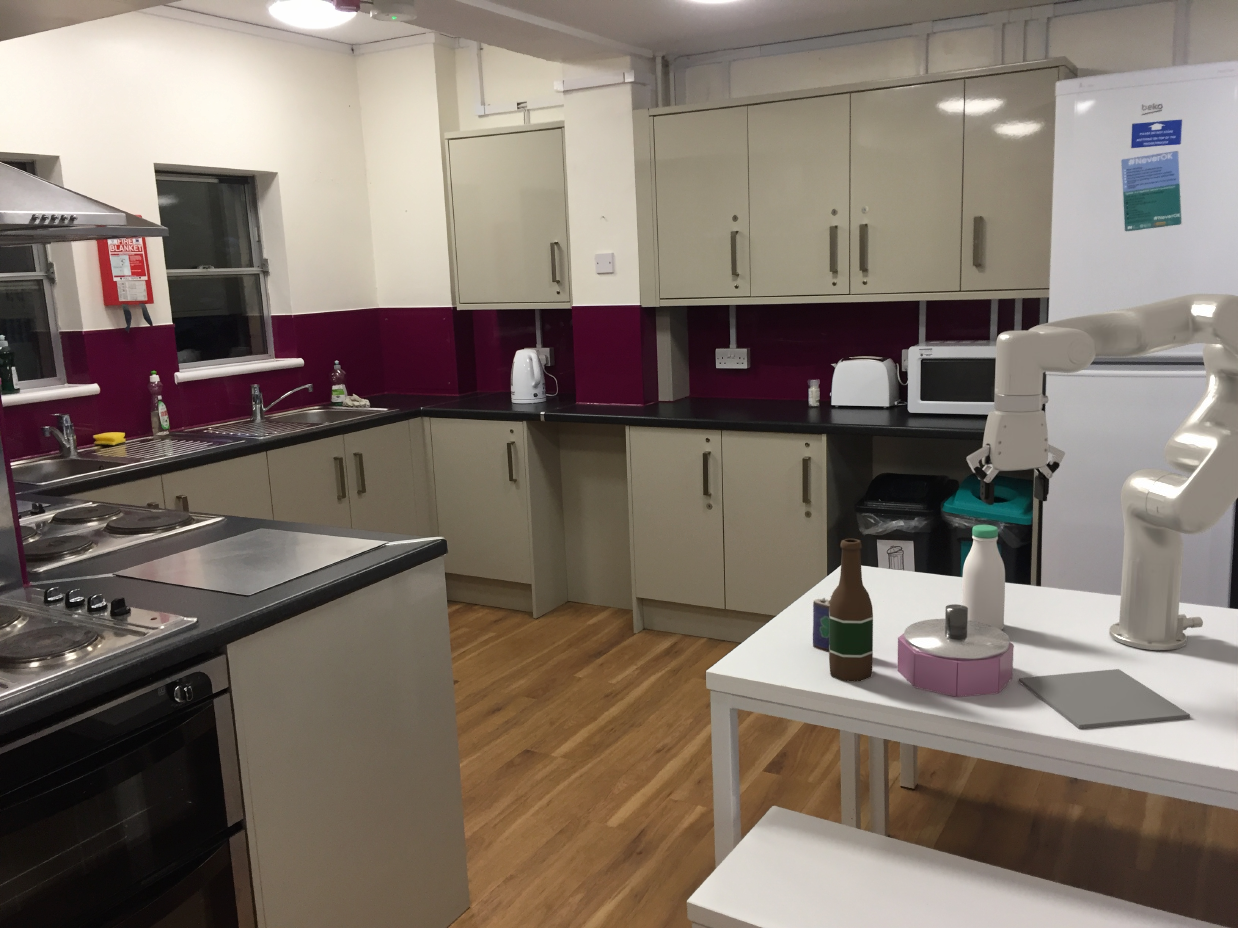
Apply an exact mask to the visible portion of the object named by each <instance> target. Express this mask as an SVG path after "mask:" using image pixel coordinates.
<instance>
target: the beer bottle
mask: <svg viewBox="0 0 1238 928" xmlns="http://www.w3.org/2000/svg"><path fill="white" fill-rule="evenodd" d="M839 547H840V548H841V559H840V560H841V561H840V562H841V563H840V575H839V581H838V585H837V586H836V588H834V590H833V592H832V594H831V595H832V596H831V595H830V598H829V600H830V606H829V652H828V659H829V661H828V662H829V674H830V676H831V678H835V679H836V680H839V681H842V682H854V683H855V682H863V681H866V680H868V679H871V678H872V676H873V666H874V665H873V663H874V662H873V660H874V658H873V657H874V656H873V655H874V654H873V653H874V652H873V651H874V650H873V649H874V647H873V646H874V639H873V638H874V611H873V604H872V601H871V600H872V599H871V597H870V595H869V592H868V590H867V589H866V587H865V586H864V584H863V574H862V556H861V550H862V548H863V545H862V542H861V540H860V539H856V538H845V539H842V540H841V542H840V545H839Z"/></svg>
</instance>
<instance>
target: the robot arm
mask: <svg viewBox="0 0 1238 928" xmlns="http://www.w3.org/2000/svg"><path fill="white" fill-rule="evenodd" d="M996 338H997V339H996V344H995V345H996V346H995V348H996V349H995V369H994V370H995V375H994V377H995V378H994V399H993V400H994V403H993V405H994V406H993V407H994V408H993V411H988V416H987V419H986V422H985V423H986V424H985V426H984V427H985V429H984V434H983V441H982V447H981V448H979V449H978V450H976V451H974V452H972V453H971V454H969V455H968V456H966V461H967V463H968V466H969V467H970V470H971V472H972V473H973V474H974V475H975V476H976V477H977V479H978V480H980V492H979V497H980V500H981V502H982V503H984V504H985V505H986V504H987V505H988V506H993V505H994V503H995V482H993V479H994V478H995V477H996V475H997V474H998V473H999V472H1009V471H1010V472H1012V471H1023V470H1024V471H1026V470H1034V471H1035V472H1036V473H1037V475H1034V485H1033V497H1034V499H1037V500H1039V501H1041V502H1047V501H1048V496H1049V492H1050V491H1049V490H1050V479H1052V478H1053V476H1054V473H1055V472H1056V471H1057V470H1058V469H1059V468H1060V466H1061V463H1062V461H1063V459H1064V457H1065V455H1066V452H1065V451H1064V450H1061V449H1060V448H1058V447H1055V446H1054V445H1051V444H1049V433H1048V423H1047V419H1046V414H1045V413H1046V412H1045V411H1044V410H1042V409H1043V404H1044V405H1045V404H1047V403H1048V402H1049V396H1048V395H1044V394H1043V378H1044V373H1048V372H1050V373H1061V374H1074V373H1078V372H1080V371H1081V372H1082V371H1083V370H1085V369H1086V368H1088V367H1089V366H1091V364H1092V363H1093V361H1094V360H1095V358H1099V357H1100V358H1132V357H1135V358H1136V357H1141V356H1142V357H1143V356H1147V355H1150V354H1151V355H1152V354H1155V353H1158V352H1163V351H1167V350H1170V349H1175V348H1182V347H1184V346H1188V345H1193V344H1203V349H1202V359H1203V364H1204V369H1205V377H1206V382H1205V383H1206V384H1205V389H1204V392H1203V394H1202V396H1201V397H1200V399H1199V400H1198V401H1197V403H1196V405H1195V406H1194V407H1193V409H1192V410H1191V411H1190V412H1189V414H1188V415H1186V417H1185V418H1184V420H1183V421H1182V422H1181V423H1180V425H1179V426H1178V427H1177V429H1176V430H1175V431H1174V432H1173V434H1172V435H1171V436H1170V438H1169V439H1168V441H1167V442H1166V445H1165V447H1164V450H1163V451H1164V452H1163V454H1164V455H1163V457H1164V459H1165V461H1166V462H1167V464H1168V465H1169V466H1170V467H1171V468H1173V469H1174V470H1176V471H1179V472H1182V473H1183V474H1187V475H1190V476H1189V477H1188V476H1185V475H1182V474H1179V473H1176V472H1172V471H1167V470H1163V469H1159V468H1143V469H1140V470H1136V471H1135V472H1132V473H1131V474H1129V476H1128V477H1127V478H1126V480H1125V481H1124V482H1123V485H1122V487H1121V490H1120V507H1121V513H1122V518H1123V519H1122V520H1123V531H1124V534H1123V535H1124V536H1123V555H1122V570H1121V589H1120V604H1119V619H1118V620H1119V622H1115V623H1113V624H1112V625H1110V627H1109V629H1108V630H1109V633H1108V634H1109V636H1110V637H1111V638H1112V639H1113V640H1114V641H1116V642H1118V643H1121V644H1123V645H1126V646H1130V647H1133V648H1137V649H1144V650H1148V651H1149V650H1150V651H1152V650H1153V651H1171V650H1172V651H1173V650H1177V649H1180V648H1182V647H1184V646H1185V645H1186V644H1187V639H1188V638H1187V635H1186V634H1185V632H1184V631H1186V630H1187V629H1188V628H1191V629H1195V628H1203V625H1204V621H1203V619H1202V617H1201V616H1191V617H1187V615H1186V614H1185V613H1183V614H1179V613H1180V599H1181V598H1180V597H1181V588H1182V587H1181V585H1182V584H1181V583H1182V574H1183V573H1182V572H1183V571H1182V569H1183V557H1184V543H1183V537H1182V534H1185V535H1200V534H1203V533H1206V532H1207V531H1209V530H1210V529H1212V528H1213V527H1214V526H1215V525H1216V524H1217V523H1219V521H1220V520H1221V518H1222V517H1224V516H1225V514H1226V513H1227V511H1228V510H1229V509H1230V508H1231V506H1232V505H1233V504H1234V503H1235V502H1236V501H1237V499H1238V295H1236V294H1227V293H1225V294H1223V293H1193V294H1185V295H1181V296H1177V297H1173V298H1168V299H1164V300H1159V301H1155V302H1150V303H1148V304H1142V305H1137V306H1133V307H1129V308H1124V309H1116V310H1115V309H1114V310H1109V311H1105V312H1099V313H1093V314H1087V315H1080V316H1074V317H1069V318H1064V319H1059V320H1055V321H1050V322H1046V323H1041V324H1037V325H1036V326H1033V327H1031V328H1029V329H1028V330H1007V331H1003V332H1001V333H1000V334H998V336H997V337H996ZM1049 454H1050V455H1051V460H1049V461H1048V459H1049ZM980 461H981V463H982V465H983V468H982V467H981V466H980V463H979V462H980Z"/></svg>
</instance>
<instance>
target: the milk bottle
mask: <svg viewBox="0 0 1238 928" xmlns="http://www.w3.org/2000/svg"><path fill="white" fill-rule="evenodd" d="M971 533H972V536H971V537H972V539H973V541H972V546H971V548H970V551H969V552H968V554H967V556H966V558H965V561H964V564H963V568H962V579H961V581H962V582H961V583H962V584H961V586H962V587H961V605H963V606H966V607H967V608H968V620H969V621H975V622H980V623H984V624H987V625H990V626H993V627H995V628H997V629H999V630H1001V631H1003V628H1004V624H1005V623H1004V622H1005V600H1006V599H1005V597H1006V596H1005V595H1006V594H1005V593H1006V569H1005V564H1004V560H1003V558H1002V557H1001V554H1000V551H999V547H998V543H997V542H998V539H999V537H998V536H999V528H998V527H997V526H994V525H989V524H977V525H974V526H973V527H972V531H971Z"/></svg>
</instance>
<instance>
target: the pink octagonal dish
mask: <svg viewBox="0 0 1238 928" xmlns="http://www.w3.org/2000/svg"><path fill="white" fill-rule="evenodd" d="M1014 649H1015V648H1014V644H1013V643H1012V642H1010V641H1009V649H1008V650H1007V652H1005V653H1004V654H1002V655H1000V656H997V657H994V658H990V659H984V660H968V661H965V660H950V659H943V658H938V657H933V656H930V655H926V654H923V653H921V652H918V651H916V650H914V649H912V648H911V647H910V646H908V645H907V644H906V642H905V640H904V633H902V634H900V635H899V636H898V637H897V672H898V673H899V674H900V675H901V676H902V677H903V678H904V679H905V680H906V681H907V683H909V684H910V685H911V686H913V687H914V688H916V689H920V690H921V689H922V690H924V691H929V692H933V693H938V694H942V695H946V696H951V697H956V698H961V697H970V696H981V695H992V694H993V695H994V694H999V693H1001V691H1002V690H1003V689H1004V688H1005V687H1006V685H1008V684H1009V683H1010V681H1011V680H1012V679H1013V673H1014V671H1013V670H1014V669H1013V668H1014Z"/></svg>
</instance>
